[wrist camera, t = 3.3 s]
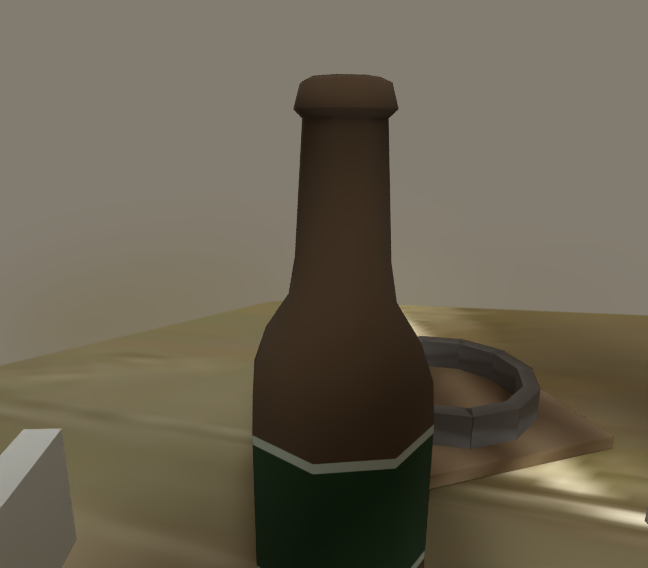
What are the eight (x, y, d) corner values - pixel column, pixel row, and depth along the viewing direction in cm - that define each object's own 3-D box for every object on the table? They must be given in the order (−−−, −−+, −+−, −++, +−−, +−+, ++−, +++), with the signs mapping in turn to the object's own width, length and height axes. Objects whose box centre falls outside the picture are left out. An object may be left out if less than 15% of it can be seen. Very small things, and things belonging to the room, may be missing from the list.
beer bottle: (229, 591, 27) (202, 80, 20) (359, 536, 30) (373, 89, 24) (300, 740, 20) (295, 57, 14) (454, 647, 24) (510, 74, 17)
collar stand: (471, 353, 55) (474, 322, 54) (611, 448, 39) (619, 405, 38) (305, 377, 50) (305, 342, 49) (388, 498, 33) (390, 449, 33)
